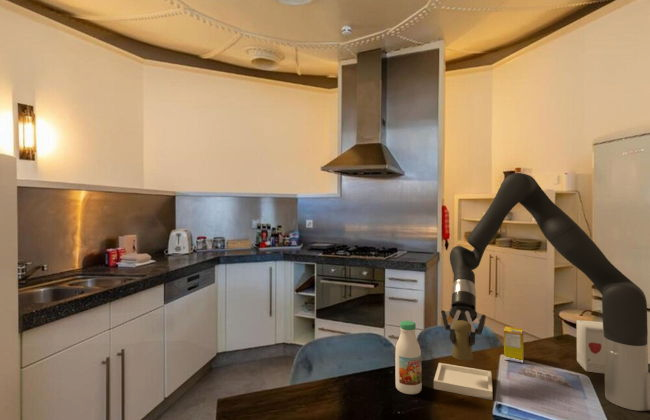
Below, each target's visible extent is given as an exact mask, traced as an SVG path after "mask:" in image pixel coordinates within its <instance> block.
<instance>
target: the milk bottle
mask: <svg viewBox="0 0 650 420" xmlns="http://www.w3.org/2000/svg"><path fill="white" fill-rule="evenodd" d="M399 328H400V335H399V338H398V340H397V342H396V346H395V351H394V352H395V353H394V354H395V356H394V357H395V366H394V367H395V373H394V374H395V388H396V389H397V391H399V392H400V393H402V394H405V395H417V394H419V393H421V392H422V388H423V386H422V385H423V384H422V383H423V381H422V379H423V377H422V375H423V374H422V371H423V370H422V350H421V346H420V343H419V341H418V339H417V336H416V323H415V322H414V321H412V320H402V321H400V323H399Z"/></svg>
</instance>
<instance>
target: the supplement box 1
mask: <svg viewBox="0 0 650 420" xmlns="http://www.w3.org/2000/svg"><path fill="white" fill-rule="evenodd" d="M503 349H504V350H503V354H504V355H503V357H504V356H506V357H510V358H515V359H519V360H523V361H524V360H525V359H524V358H525V356H524V355H525V352H524V351H525V350H524V328H520V327H514V326H505V327H504V329H503Z"/></svg>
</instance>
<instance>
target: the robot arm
mask: <svg viewBox="0 0 650 420" xmlns="http://www.w3.org/2000/svg"><path fill="white" fill-rule="evenodd" d="M517 204H520V205H521V206H522V207H524V209H525V210H526V211H528V212H529V213H530V215H531V216H532V218H533V219H534V221H535V222H536V224H537V225H538V227H539V229H540V232H541V233H542V234H543V235H544V237H545V238H546V240H547V241H548V242H549V244H550V245H551V246H552V247H553V248H554V249H555V250H556V251H557V253H559V255H561V256H562V257H563V258H564V259H565V260H567V261H568V262H569V263H570V264H571V265H573V267H575V268H576V269H578V270H579V271H580V272H582V273H583V274H584V275H585V276H586V277H587V278H588V279H589V280H590V282H591V283H592V284H593V285H594V287H596V289H597V290H598V291H599V294H601V296H602V297H601V311H602V322H603V331H604V367H605V374H604V396H605V399H606V400H607V401H609V402H610V403H612V404H613V405H616V406H617V407H621V408H623V409H627V410H632V411H638V412H639V411H640V412H643V411H644V412H645V411H650V371H649V355H648V354H649V353H648V350H649V348H648V346H649V345H648V333H649V332H648V303H647V298H646V294H645V293H644V291H643V290H642V289H641V288H640V287H639V286H638V285H637V284H636V283H635V282H633V281H632V280H631V279H630V278H628V277H627V276H626V275H625V274H623V272H621V271H620V270H619V269H618V268H616V266H615V265H613V263H612V262H611V261H610V260H609V259H608V258H607V257H606V255H605V254H604V253H603V251H602V250H601V249H600V247H599V246H598V245H597V244H596V243H595V242H594V241H593V240H592V238H591V237H590V235H588V234H587V233H586V231H584V230H583V229H582V228H581V227H580V226H579V224H577V223H576V222H575V221H574V220H573V218H571V217H570V216H569V215H568V214H567V213H566V212H565V211H564V210H562V209H561V208H560V206H557V205H556V204H555V203H554V202H553V201H552V200H551V198H550V197H549V196H548V195H547V193H546V192H545V191H544V190H543V188H541V186H540V185H539V183H538V182H537V180H535V178H534V177H533V176H532V175H530V174H527V173H523V172H515V173H511V174H508V175H507V176H506V177H505V178H504V179H503V181H502V183H501V184H500V186H499V189H498V190H497V193H496V194H495V196H494V198H493V200H492V202H491V203H490V206H489V207H488V208H487V210H486V212H485V213H484V215H483V216H481V218H480V219H479V221H478V223H476V225H475V226H474V228H473V229H472V231H471V232H470V234H469V235H468V236H467V239H466V241H467V243H468V244H469V245H470V246H471V247H473V250H470V249H468V248H466V247H464V246H461V245H456V246H454V247H453V248H451V250H450V252H449V262H450V266H451V269H452V273H453V281H452V282H453V283H452V288H451V302H450V303H451V306H450V309H449V310H447V311H446V310H443V309H441V311H440V313H441V319H442V322H443V325H444V330H445V331H448V332H449V341H450V343H451V344H452V345H454V344H455V330H454V327H453V325H454V322H455V321H457V320H463V321H467V322H469V323H470V325H471V331H470V333H469V334H470V346H471V348H472V347H473V346H475V344H476V336H477V335H479V336H481V335H482V333H483V330H484V327H485V324H486V320H487V316H486V315H485V314H479V313H477V311H476V309H477V308H476V303H477V302H476V298H477V294H476V293H477V292H476V275H475V273H474V271H475V270H476V269H478V267H479V266H480V264H481V262H482V259H483V255H484V254H485V251H486V249H487V247H488V246H489V244H490V243H491V242H492V241H493V239H494V238H495V237H496V236H497V234H498V233H499V230H500V229H501V227H502V225H503V223H504V221H505V219H506V217H507V216H508V214H509V213H510V212H511V211H512V210H513V208H515V206H516V205H517ZM449 317H451V318H452V322H451V325H450V324H449V322H448V319H449ZM476 319H477V321H478V325H477V328H475V326H474V323H473V322H474V321H475V320H476Z"/></svg>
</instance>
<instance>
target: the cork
mask: <svg viewBox="0 0 650 420" xmlns="http://www.w3.org/2000/svg"><path fill="white" fill-rule="evenodd" d="M453 327H454V330H455V344H452V345H453V346H452V351H451V355H452V358H454V359H457V360H460V361H472V360H473V359H474V357H473V350H472V347H471V346H470V331H471V325H470V323H469V322H467V321H463V320H457V321H455V322H454V325H453Z"/></svg>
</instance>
